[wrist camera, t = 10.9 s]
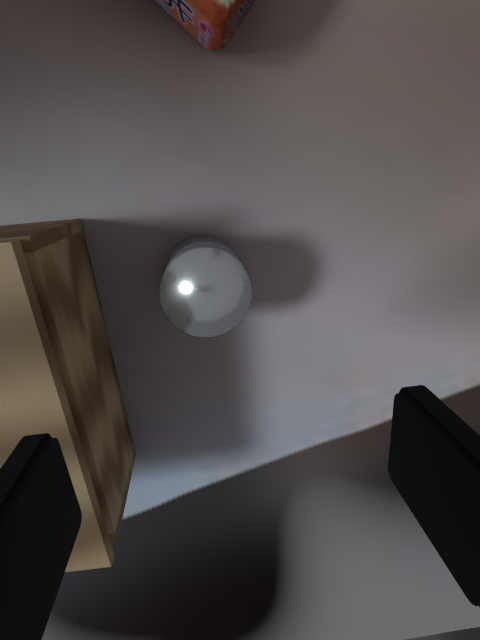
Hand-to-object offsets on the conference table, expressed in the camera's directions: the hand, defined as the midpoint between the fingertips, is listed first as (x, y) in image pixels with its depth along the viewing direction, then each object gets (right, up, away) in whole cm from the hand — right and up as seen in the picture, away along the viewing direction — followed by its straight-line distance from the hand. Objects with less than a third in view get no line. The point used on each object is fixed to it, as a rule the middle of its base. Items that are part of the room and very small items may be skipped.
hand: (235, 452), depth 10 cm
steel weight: (-3, +7, +19) cm, 21 cm away
